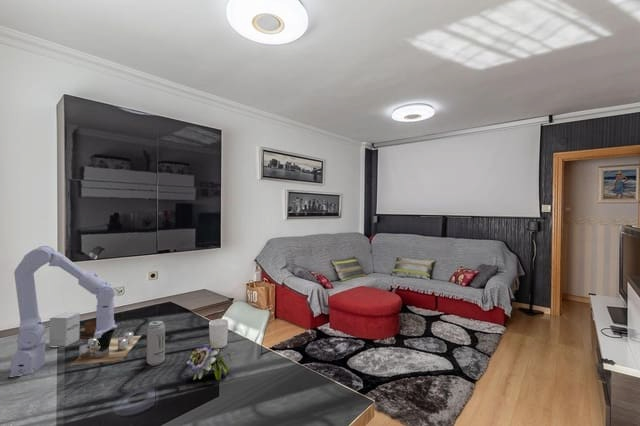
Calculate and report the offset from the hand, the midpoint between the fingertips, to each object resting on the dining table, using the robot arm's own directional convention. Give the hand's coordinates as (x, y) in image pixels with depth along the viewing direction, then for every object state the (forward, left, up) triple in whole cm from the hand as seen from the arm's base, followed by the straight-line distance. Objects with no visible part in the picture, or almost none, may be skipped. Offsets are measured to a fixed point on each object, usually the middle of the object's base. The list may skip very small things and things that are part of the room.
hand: (105, 349), depth 122 cm
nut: (-3, 0, -1) cm, 3 cm away
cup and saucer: (+23, +13, -2) cm, 26 cm away
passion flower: (-27, -41, -2) cm, 50 cm away
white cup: (-3, -43, -2) cm, 44 cm away
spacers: (+5, 0, -1) cm, 5 cm away
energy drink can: (-13, -21, -2) cm, 25 cm away
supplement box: (+15, +21, -2) cm, 25 cm away
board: (+3, 0, -2) cm, 3 cm away
